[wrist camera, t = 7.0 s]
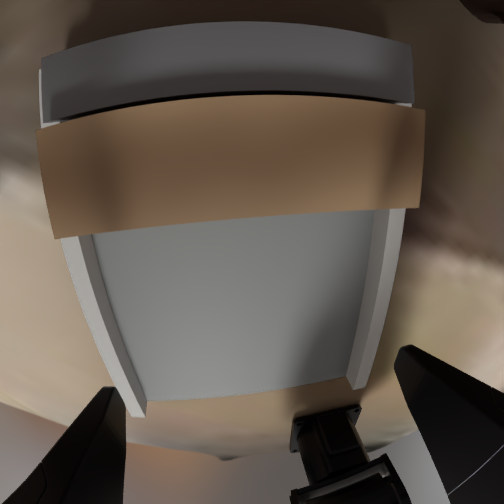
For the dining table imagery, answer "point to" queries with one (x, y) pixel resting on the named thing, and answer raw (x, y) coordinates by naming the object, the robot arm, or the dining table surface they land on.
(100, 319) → the rail plate
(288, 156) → the walnut slider
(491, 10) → the coffee mug
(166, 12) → the dining table surface
